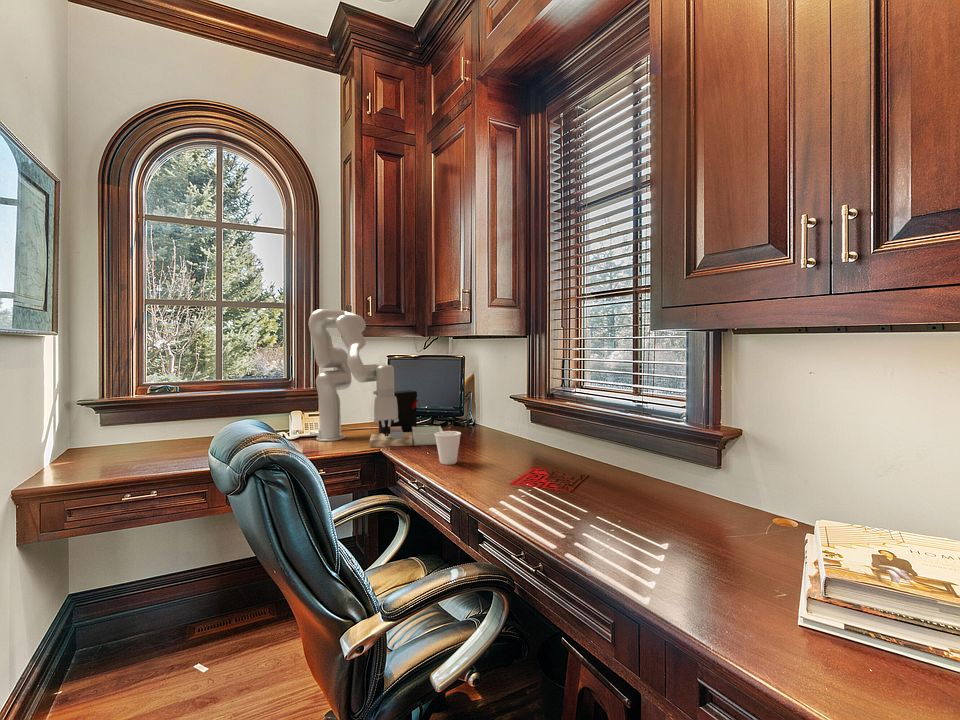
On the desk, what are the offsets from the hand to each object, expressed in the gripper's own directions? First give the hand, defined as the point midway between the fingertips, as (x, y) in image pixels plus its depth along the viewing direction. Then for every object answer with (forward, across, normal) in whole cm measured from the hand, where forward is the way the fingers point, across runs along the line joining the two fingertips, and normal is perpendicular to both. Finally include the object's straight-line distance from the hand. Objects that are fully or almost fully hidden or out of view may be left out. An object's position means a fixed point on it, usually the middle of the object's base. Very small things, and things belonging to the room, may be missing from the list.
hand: (386, 435), depth 220 cm
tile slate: (+1, +4, 0) cm, 5 cm away
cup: (+4, +23, -37) cm, 44 cm away
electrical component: (+4, +5, +29) cm, 29 cm away
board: (+4, +2, +4) cm, 6 cm away
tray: (+4, +18, +4) cm, 19 cm away
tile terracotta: (+1, +4, +8) cm, 9 cm away
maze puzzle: (+5, +54, -66) cm, 85 cm away
